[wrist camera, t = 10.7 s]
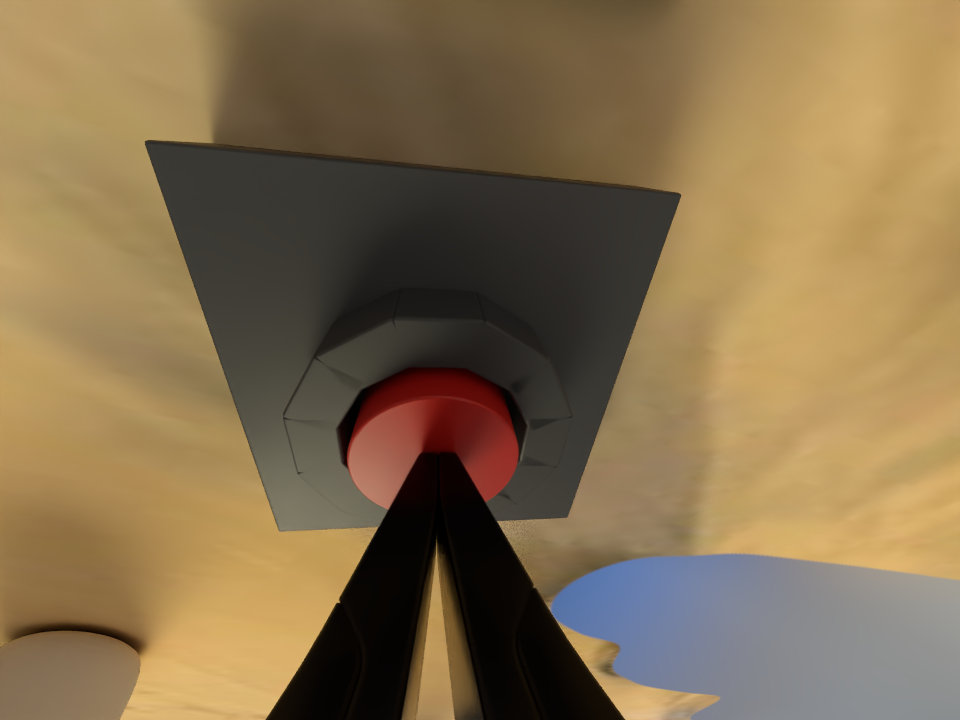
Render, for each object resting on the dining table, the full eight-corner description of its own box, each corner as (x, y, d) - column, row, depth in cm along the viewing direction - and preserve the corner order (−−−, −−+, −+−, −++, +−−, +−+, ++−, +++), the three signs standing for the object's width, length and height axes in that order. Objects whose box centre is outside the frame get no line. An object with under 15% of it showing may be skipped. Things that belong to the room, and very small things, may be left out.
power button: (515, 355, 9) (532, 397, 7) (497, 464, 11) (507, 514, 9) (353, 352, 8) (335, 396, 7) (366, 468, 10) (354, 521, 9)
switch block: (635, 186, 10) (744, 202, 6) (552, 475, 16) (584, 563, 12) (209, 142, 8) (45, 134, 5) (299, 482, 14) (256, 586, 11)
